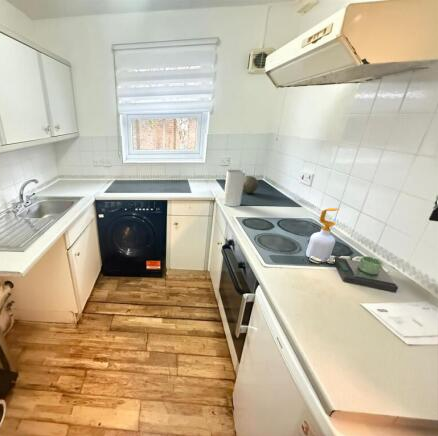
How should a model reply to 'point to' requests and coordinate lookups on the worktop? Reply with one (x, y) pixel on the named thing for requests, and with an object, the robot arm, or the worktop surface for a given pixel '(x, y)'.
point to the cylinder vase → (233, 187)
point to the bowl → (370, 265)
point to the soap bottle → (322, 240)
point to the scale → (363, 275)
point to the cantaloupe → (250, 184)
